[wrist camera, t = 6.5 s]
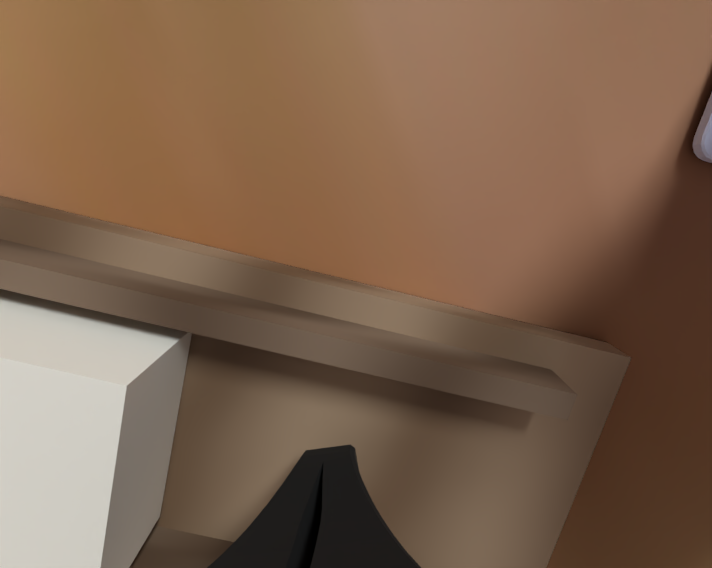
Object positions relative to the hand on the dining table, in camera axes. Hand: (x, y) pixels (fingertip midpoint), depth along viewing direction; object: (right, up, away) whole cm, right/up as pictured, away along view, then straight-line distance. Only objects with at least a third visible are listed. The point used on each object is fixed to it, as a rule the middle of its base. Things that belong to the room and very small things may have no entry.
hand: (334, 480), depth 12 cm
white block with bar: (-7, 0, +1) cm, 8 cm away
